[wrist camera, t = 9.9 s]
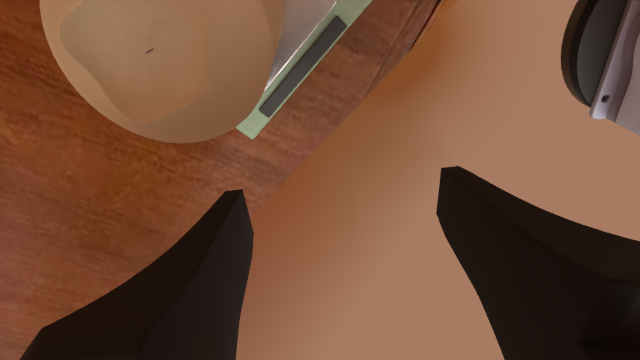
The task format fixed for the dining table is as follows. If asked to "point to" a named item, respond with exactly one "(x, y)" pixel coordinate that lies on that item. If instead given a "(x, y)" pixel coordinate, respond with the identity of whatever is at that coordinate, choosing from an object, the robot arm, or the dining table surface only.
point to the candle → (167, 60)
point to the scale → (302, 64)
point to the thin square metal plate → (297, 29)
